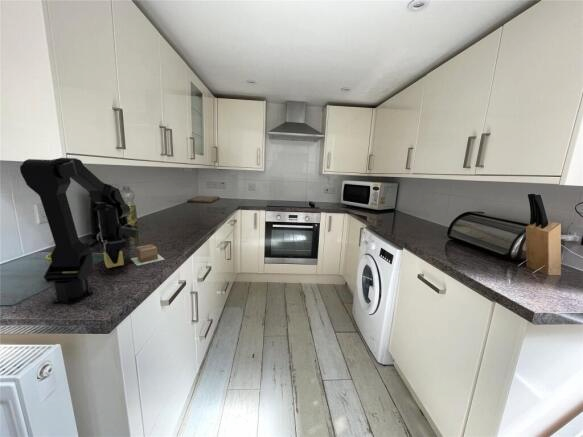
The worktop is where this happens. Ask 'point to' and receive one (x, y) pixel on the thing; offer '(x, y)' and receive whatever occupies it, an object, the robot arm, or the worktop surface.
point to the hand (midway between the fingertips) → (113, 261)
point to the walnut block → (147, 253)
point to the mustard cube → (109, 262)
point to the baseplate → (147, 261)
